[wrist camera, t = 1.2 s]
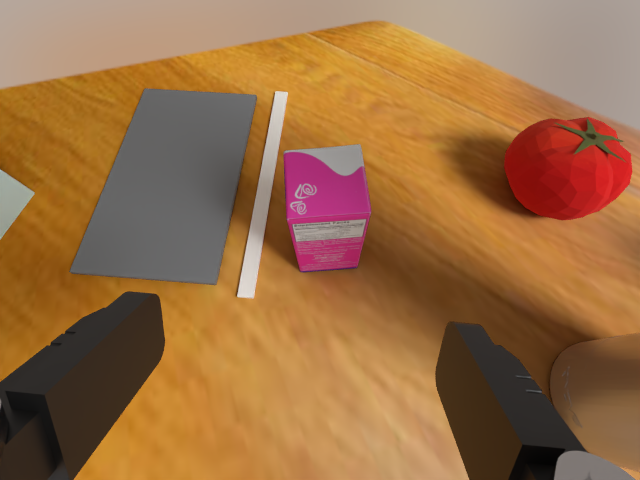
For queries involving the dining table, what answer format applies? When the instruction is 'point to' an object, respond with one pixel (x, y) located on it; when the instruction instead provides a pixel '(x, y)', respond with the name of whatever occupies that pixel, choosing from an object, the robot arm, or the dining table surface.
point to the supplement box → (327, 206)
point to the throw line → (262, 199)
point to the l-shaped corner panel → (11, 200)
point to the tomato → (567, 167)
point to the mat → (170, 189)
